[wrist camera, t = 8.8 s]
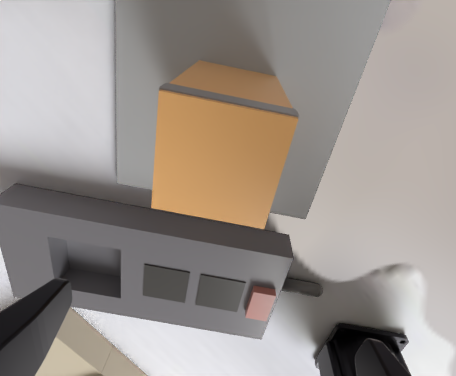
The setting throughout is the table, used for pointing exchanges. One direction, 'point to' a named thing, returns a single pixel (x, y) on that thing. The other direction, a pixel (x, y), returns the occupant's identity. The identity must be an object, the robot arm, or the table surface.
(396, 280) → the table surface
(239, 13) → the mat
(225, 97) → the orange square peg
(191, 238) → the power strip
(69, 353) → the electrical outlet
